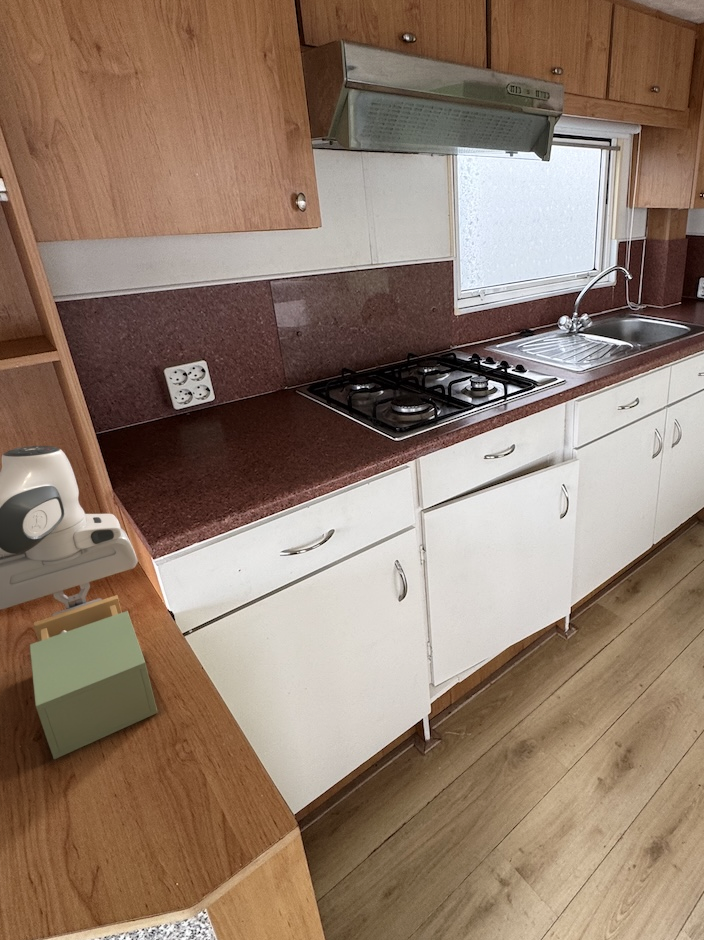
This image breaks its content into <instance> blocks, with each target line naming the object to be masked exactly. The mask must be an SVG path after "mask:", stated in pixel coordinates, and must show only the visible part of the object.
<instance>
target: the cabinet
mask: <svg viewBox="0 0 704 940" xmlns="http://www.w3.org/2000/svg"><path fill="white" fill-rule="evenodd" d="M141 648H142V647H141V645H140V643H139V639H138V637H137V634H136V631H135V628H134V625H133V622H132V620H131V617H130V614H129V611H128V610H126V611H122V613H120V614H117V615H114V616H111V617H108V618H105V619H102V620H99V621H96V622H94V623H91V624H88V625H85V626H82V627H79V628H76V629H73V630H71V631H68V632H65V633H62V634H59V635H56V636H53V637H50V638H47V639H45V640H42V641H36V642H34V643H33V642H32V643H30V644H29V651H30V662H31V673H32V682H33V693H34V703H35V709H36V712H37V714H38V717H39V721H40V723H41V727H42V729H43V732H44V735H45V738H46V741H47V744H48V746H49V750H50V753H51V755H52V758H53V760H57V759H58V758H61V757H63V756H65V755H68V754H70V753H73V752H75V751H77V750H79V749H81V748H84V746H88V745H90V744H92V743H94V742H96V741H98V740H101V739H103V738H106V737H107V736H110V735H112V734H114V733H116V732H119V731H121V730H124V729H125V728H128V727H130V726H132V725H134V724H137V723H139V722H140V721H143V720H145V719H147V718H150V717H152V716H154V715H156V714H158V712H159V711H158V708H157V705H156V701H155V700H156V699H155V697H154V691H153V688H152V684H151V680H150V676H149V671H148V667H147V664H146V661H145V657H144V654H143V651H142V649H141Z"/></svg>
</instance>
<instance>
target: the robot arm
mask: <svg viewBox="0 0 704 940" xmlns="http://www.w3.org/2000/svg"><path fill="white" fill-rule="evenodd" d="M79 495H80V490H79V486H78V483H77V479H76V475H75V473H74V469H73V467H72V464H71V462H70V460H69V458H68V456H67V455H66V453H65V452H64V451H63V450H62V449H61V448H59V447H56V446H49V445H32V446H21V447H17V448H13V449H9V450H8V451H6V452H4V453H2V454H1V470H0V610H5V609H7V608H11V607H15V606H18V605H21V604H23V603H26V602H27V603H28V602H30V601H33V600H38V599H40V598H44V597H46V596H49V595H52V596H53V599H55V600H56V601H58V602H60V603H61V604H64V606H65V609H68V608H71V607H75V606H78V605H81V604H84V603H87V602H88V601H87V599H86V597H87V595H88V593H89V590H90V589H91V584H90V583H91V582H94V581H97V580H100V579H103V578H107V577H110V576H113V575H116V574H120V573H124V572H127V571H129V570H132V569H135V567H136V566H137V564H138V562H139V561H138V557H137V554H136V551H135V549H134V546H133V544H132V542H131V540H130V538H129V536H128V534H127V532H126V531H125V530H124V529H123V528H122V526H121V523H120V520H119V519H118V518H117V517H116V515H114V514H113V513H86V512H85V510H84V508H83V507H82V505H81V504H80V501H79ZM75 587H79V588H80V590H79V592H78V593H76V594H73V595H70V596H68V595H66V594H65V593H64V591H65V590H69V589H71V588H75Z"/></svg>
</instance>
